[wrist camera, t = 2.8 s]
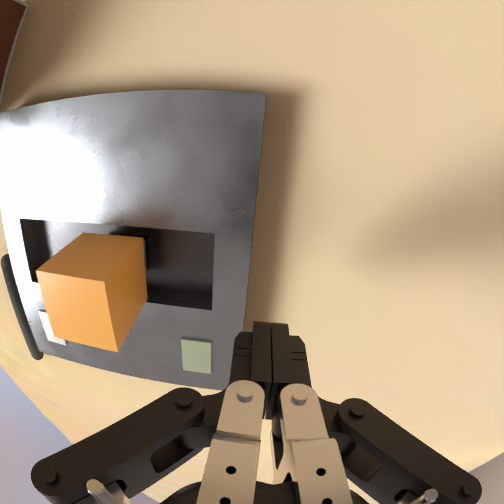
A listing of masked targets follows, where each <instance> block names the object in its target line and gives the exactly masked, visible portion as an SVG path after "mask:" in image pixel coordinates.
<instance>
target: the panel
mask: <svg viewBox="0 0 504 504" xmlns="http://www.w3.org/2000/svg"><path fill="white" fill-rule="evenodd" d="M265 103H266V93H255V92H242V91H225V90H145V91H129V92H116V93H106V94H96V95H88V96H81V97H74V98H67V99H61V100H55V101H50V102H44V103H39V104H34V105H30V106H25V107H21V108H16V109H12V110H8V111H4V112H1V113H0V204H1V211H2V218H3V224H4V230H5V236H6V241H7V246H8V251H9V255H10V260H11V264H12V268H13V272H14V276H15V280H16V283H17V287H18V291H19V294H20V297H21V301H22V304H23V307H24V310H25V313H26V316H27V319H28V322H29V325H30V328H31V331H32V333H33V336H34V339H35V341H36V344H37V346H38V349H39V351H41V352H44V353H47V354H50V355H53V356H56V357H60V358H63V359H66V360H70V361H73V362H77V363H80V364H84V365H88V366H91V367H95V368H99V369H103V370H107V371H112V372H116V373H120V374H125V375H129V376H134V377H139V378H144V379H149V380H155V381H160V382H166V383H172V384H178V385H185V386H192V387H199V388H207V389H215V390H224V389H225V388H226V387H227V386H228V384H229V380H230V372H231V363H232V356H233V347H234V339H235V337H236V336H237V335H238V334H239V332H240V331H241V332H243V328H244V317H245V307H246V297H247V286H248V276H249V266H250V256H251V245H252V235H253V225H254V215H255V205H256V194H257V184H258V174H259V164H260V154H261V144H262V133H263V123H264V113H265ZM84 232H86V233H97V234H108V235H119V236H130V237H141V238H143V239H145V245H146V262H147V275H146V286H147V297H148V299H147V301H146V302H145V304H144V306H143V308H142V309H141V311H140V313H139V315H138V317H137V318H136V320H135V322H134V324H133V326H132V327H131V329H130V331H129V333H128V335H127V337H126V338H125V340H124V342H123V344H122V346H121V348H120V350H119V351H118V352H115V351H110V350H105V349H101V348H97V347H92V346H88V345H84V344H80V343H76V342H72V341H68V340H65V339H61V338H57V337H54V334H53V331H52V328H51V325H50V321H49V318H48V315H47V312H46V308H45V305H44V301H43V297H42V294H41V290H40V286H39V282H38V278H37V274H36V270H37V269H38V268H39V267H40V266H42V265H43V264H44V263H45V262H47V261H48V260H49V259H50V258H51V257H53V256H54V255H55V254H56V253H58V252H59V251H60V250H61V249H63V248H64V247H65V246H67V245H68V244H69V243H70V242H72V241H73V240H74V239H76V238H77V237H78V236H80V235H81V234H82V233H84Z"/></svg>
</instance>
